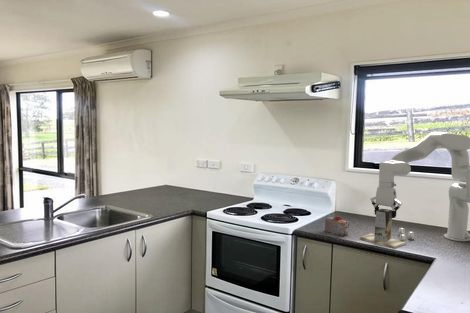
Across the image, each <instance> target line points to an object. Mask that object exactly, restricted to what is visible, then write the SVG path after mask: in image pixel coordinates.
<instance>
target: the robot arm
mask: <svg viewBox="0 0 470 313" xmlns="http://www.w3.org/2000/svg"><path fill="white" fill-rule="evenodd" d="M437 149H446V151H448V152H449V154H450V158H451V177H452V179H453V180H455V181H458V182H455V183H453V184H451V185H450V186H449V188H448V199H449V207H448V208H449V209H448V210H449V211H448V220H447V221H448V222H447V232H446V233H444V234H443V237H444V238H445V239H447V240H451V241H456V242H470V233H469V231H468V221H469V211H470V210H469V209H470V208H469V204H470V155H469V152H468V150H469V149H470V137H469V136H468V135H464V134H459V133H453V132H446V131H445V132H443V131H433V132H430V133H428V134H427V135H426V136H425V137H423V138H422V139H421V140H420V141H419V142H418V143H416V144H415V145H413V146H411V147H409V148H407V149H405V150H402V151H400V152H399V153H397V154H395V155H394V156H393V157H391V158H390V159H389V160H388V161H381V162H380V163H379V170H378V173H379V174H378V186H377V188H376V193H375V196H374V197H371V198H370V202H371V204H372V205H373V208H374V215H375V216H376V211H377V210H379V209H380V206H383V207H390V208H391V210H393V211H392V219H396V217H397V212H398V210H399V209H400V208H401V206H402V202H401V201H399V200H398V199H397V190H396V187H397V183H395V176H402V177H404V176H407V175H409V174H410V173H411V171H412V167H411V165H410V163H411V162H416V161H420V160H424V159H425V158H427V157H428V156H429V155H431V154H432V153H433V152H435V151H436V150H437ZM461 182H463V183H461Z"/></svg>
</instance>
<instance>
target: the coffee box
mask: <svg viewBox="0 0 470 313" xmlns="http://www.w3.org/2000/svg"><path fill="white" fill-rule="evenodd" d="M392 211H393V210H392V209H388V208H379V210H377V211H376V215H375V220H374V221H375V222H374V234H375V235H374V240H378V241H383V242H386V241H388V240H389V239H391V238H392V237H391V236H392V227H393V226H392V224H393V218H392Z"/></svg>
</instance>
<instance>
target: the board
mask: <svg viewBox="0 0 470 313" xmlns="http://www.w3.org/2000/svg"><path fill="white" fill-rule="evenodd" d="M374 235H375V233H369V234H365V235H362V236H360V237H359V239H360V240H362V241H365V242H369V243H374V244H377V245H381V246H384V247H386V248H387V247H388V248H391V249H397V248H400V247H402V246H404V245H405V246H406V245H407V244H406V243H407V242H403V241H400V239H395V238H392V237H391V239H389V240H388V241H386V242H383V241H378V240H374Z"/></svg>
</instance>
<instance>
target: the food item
mask: <svg viewBox="0 0 470 313" xmlns="http://www.w3.org/2000/svg"><path fill="white" fill-rule="evenodd" d="M324 222H325V223H324V224H325V225H324V232H328V233H329V234H332V235H337V236H341V237H342V236H348V235H349V226H350V221H348V220H343V218H342V217H341V216H335V217H332V216H329V217H325V221H324Z"/></svg>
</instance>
